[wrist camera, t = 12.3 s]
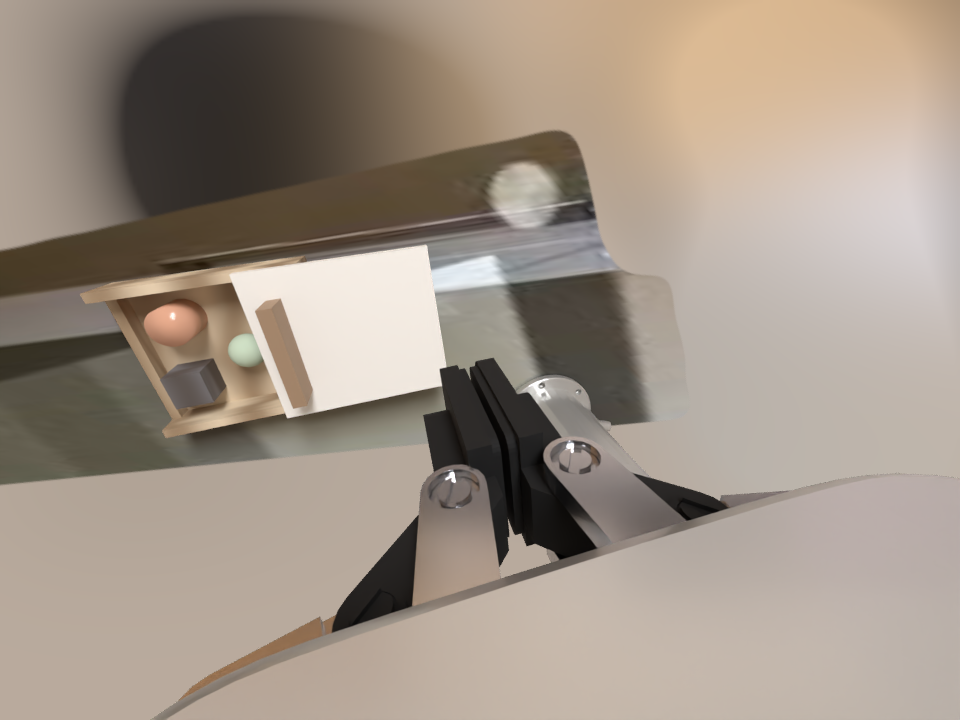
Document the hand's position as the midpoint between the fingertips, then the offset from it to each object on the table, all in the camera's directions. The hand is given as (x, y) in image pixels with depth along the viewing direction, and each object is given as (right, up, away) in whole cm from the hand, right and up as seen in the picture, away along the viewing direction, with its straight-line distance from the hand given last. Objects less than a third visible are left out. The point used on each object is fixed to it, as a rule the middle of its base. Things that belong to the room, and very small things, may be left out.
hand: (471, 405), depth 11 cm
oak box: (-23, +4, +25) cm, 34 cm away
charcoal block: (-27, 0, +25) cm, 37 cm away
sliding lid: (-12, +4, +23) cm, 26 cm away
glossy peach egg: (-27, +5, +23) cm, 36 cm away
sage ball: (-22, +3, +25) cm, 34 cm away
